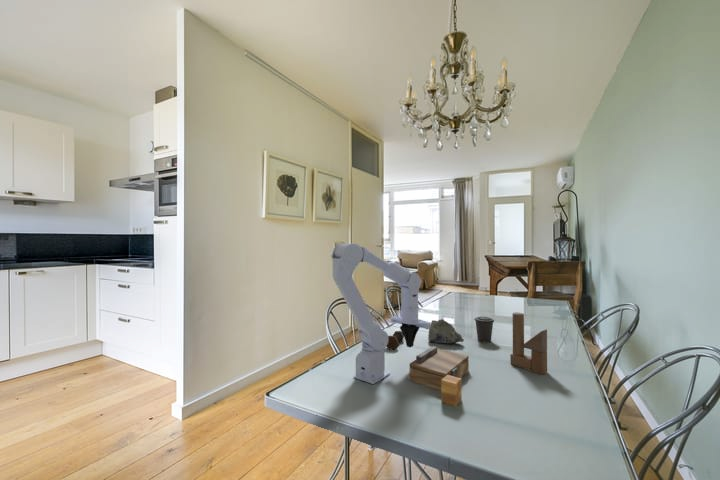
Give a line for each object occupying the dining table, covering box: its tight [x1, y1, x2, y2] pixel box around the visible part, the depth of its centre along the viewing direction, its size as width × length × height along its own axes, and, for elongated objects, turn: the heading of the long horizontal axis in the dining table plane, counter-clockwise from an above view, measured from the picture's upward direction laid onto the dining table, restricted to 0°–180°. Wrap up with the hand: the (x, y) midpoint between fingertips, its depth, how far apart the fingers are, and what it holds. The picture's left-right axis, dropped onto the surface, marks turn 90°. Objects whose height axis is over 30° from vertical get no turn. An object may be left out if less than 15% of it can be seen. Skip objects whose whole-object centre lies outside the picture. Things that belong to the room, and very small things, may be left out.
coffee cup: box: [474, 316, 495, 343], centre depth 135 cm, size 8×8×10 cm
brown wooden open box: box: [409, 359, 470, 391], centre depth 100 cm, size 18×12×4 cm, turn 141°
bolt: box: [385, 330, 405, 350], centre depth 132 cm, size 6×5×15 cm
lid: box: [409, 345, 470, 377], centre depth 100 cm, size 18×13×5 cm
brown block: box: [440, 375, 463, 407], centre depth 84 cm, size 4×4×6 cm
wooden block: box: [510, 311, 548, 376], centre depth 106 cm, size 4×11×18 cm, turn 34°
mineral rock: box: [427, 318, 465, 344], centre depth 132 cm, size 13×11×10 cm
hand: (410, 346), depth 107 cm, fingers closed
